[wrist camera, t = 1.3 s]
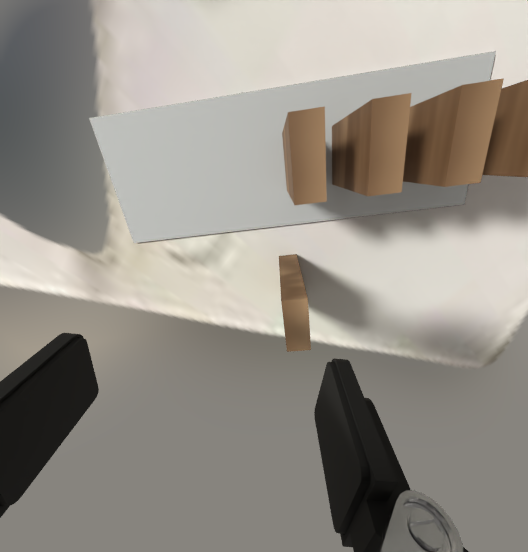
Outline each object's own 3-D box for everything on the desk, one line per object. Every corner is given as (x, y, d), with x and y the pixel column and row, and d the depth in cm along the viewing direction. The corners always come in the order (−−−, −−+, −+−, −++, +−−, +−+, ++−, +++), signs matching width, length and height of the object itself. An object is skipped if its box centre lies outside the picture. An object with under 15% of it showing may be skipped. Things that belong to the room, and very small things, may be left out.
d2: (406, 114, 22) (503, 78, 12) (400, 175, 24) (480, 182, 14) (383, 118, 22) (461, 85, 13) (379, 178, 24) (444, 187, 15)
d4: (303, 130, 22) (324, 106, 13) (306, 187, 24) (326, 201, 15) (282, 133, 22) (287, 112, 13) (286, 190, 24) (294, 205, 15)
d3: (354, 122, 22) (411, 93, 13) (353, 181, 24) (401, 192, 15) (331, 126, 22) (372, 98, 13) (332, 184, 24) (367, 196, 15)
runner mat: (492, 52, 20) (495, 51, 20) (462, 204, 25) (464, 204, 24) (91, 118, 23) (89, 118, 22) (135, 242, 28) (133, 243, 27)
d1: (460, 106, 21) (601, 63, 12) (449, 169, 23) (563, 172, 14) (436, 110, 21) (557, 70, 12) (427, 172, 23) (526, 176, 14)
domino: (296, 254, 28) (307, 298, 19) (299, 293, 30) (310, 349, 21) (278, 256, 28) (281, 300, 19) (282, 294, 30) (287, 351, 21)
